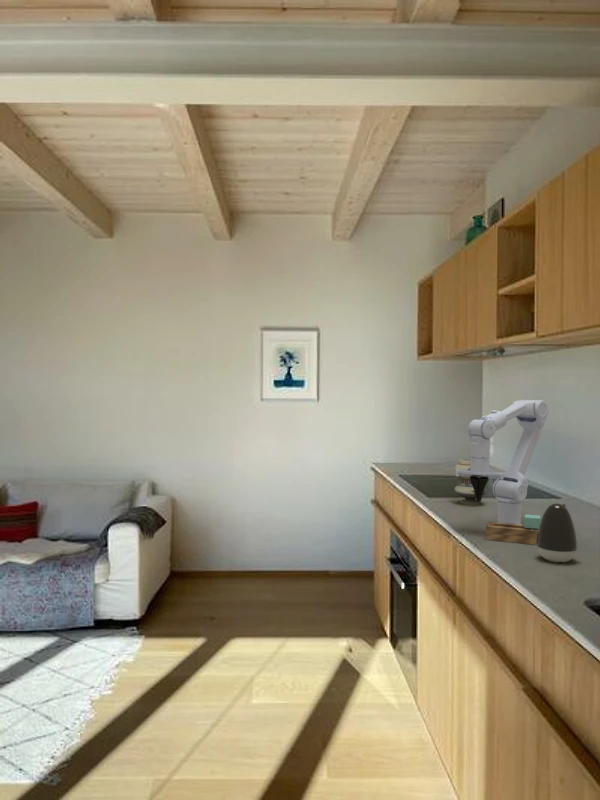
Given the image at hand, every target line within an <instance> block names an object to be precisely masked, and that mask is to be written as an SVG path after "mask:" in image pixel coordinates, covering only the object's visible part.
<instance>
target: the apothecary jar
mask: <svg viewBox="0 0 600 800" xmlns="http://www.w3.org/2000/svg"><path fill="white" fill-rule="evenodd" d="M458 461H459V462H458V464H456V465H455V468H454V470H455V472H456V470H470V462H471V458H459V460H458ZM474 476H483V475H474ZM454 492H455V494H457V496H460V497H462V498H464V499H461V500H459V501H457V503H458V504H457V505H459V504H460V506H463V505H465V507H481V506H483V505H484V504H483V502H482V501H476V496H475V492H474V488H473V486H472V484H471V481H470V477H464V476H457V485H456V486H455V487H454ZM486 492H487V489H486V487H485V488H484V491H483V494H482V496H484V495H485V494H486Z"/></svg>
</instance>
